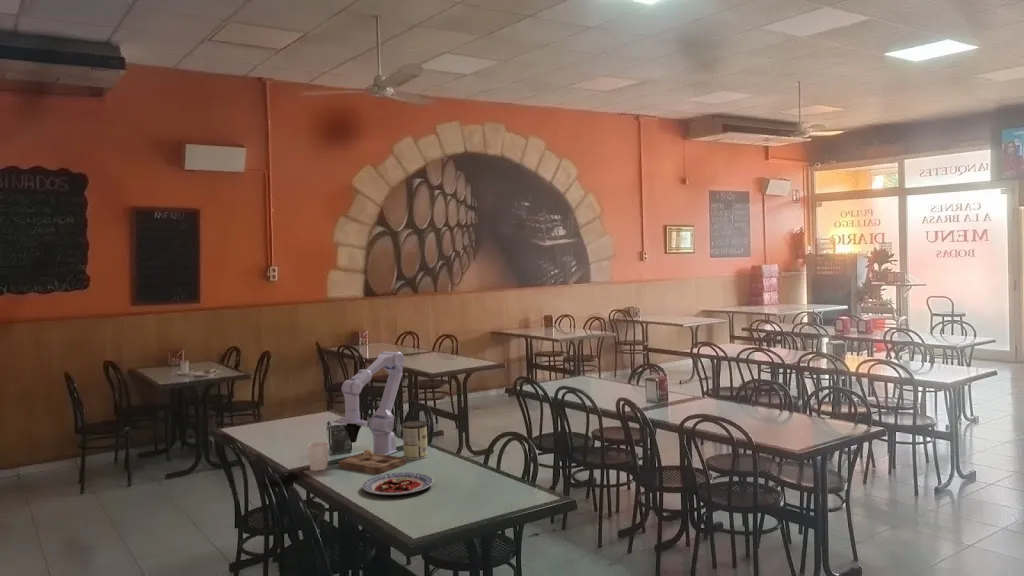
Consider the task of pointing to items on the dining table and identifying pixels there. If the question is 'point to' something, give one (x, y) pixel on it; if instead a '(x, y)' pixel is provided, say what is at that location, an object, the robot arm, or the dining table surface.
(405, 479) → the ceramic plate
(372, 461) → the board
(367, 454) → the ball
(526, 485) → the dining table surface
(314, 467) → the white cup
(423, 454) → the coffee can
